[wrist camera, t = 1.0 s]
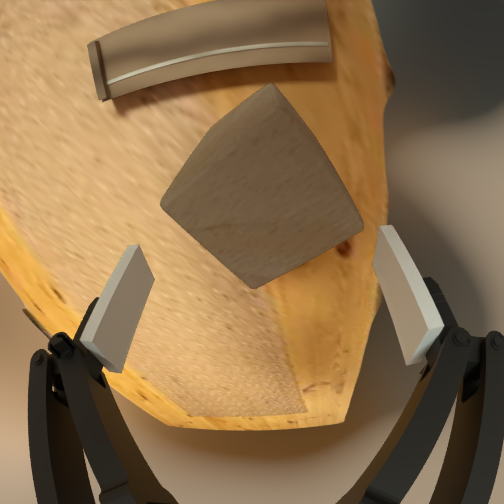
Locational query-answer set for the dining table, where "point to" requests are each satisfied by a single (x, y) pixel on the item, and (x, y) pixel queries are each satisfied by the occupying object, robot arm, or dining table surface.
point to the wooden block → (262, 192)
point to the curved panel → (209, 42)
